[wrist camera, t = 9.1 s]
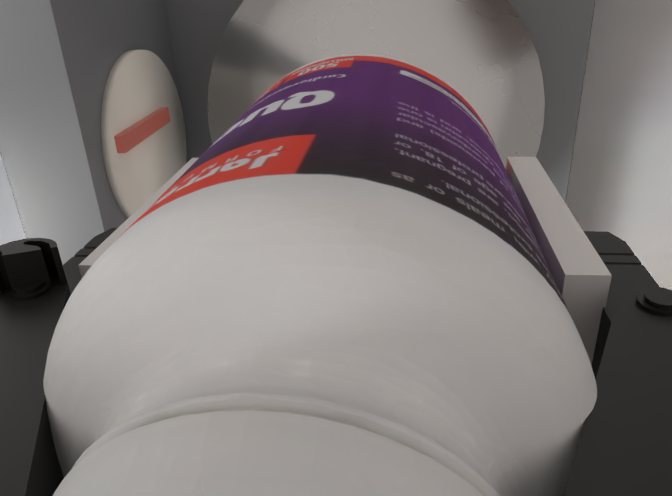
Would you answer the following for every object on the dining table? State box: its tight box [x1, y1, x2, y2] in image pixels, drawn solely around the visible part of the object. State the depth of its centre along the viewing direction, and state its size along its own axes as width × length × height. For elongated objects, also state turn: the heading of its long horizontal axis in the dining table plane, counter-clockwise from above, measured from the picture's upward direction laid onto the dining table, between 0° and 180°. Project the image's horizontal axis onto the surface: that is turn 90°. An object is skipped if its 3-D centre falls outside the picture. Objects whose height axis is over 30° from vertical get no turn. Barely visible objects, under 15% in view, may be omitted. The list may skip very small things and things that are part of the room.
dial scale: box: [0, 0, 595, 265], centre depth 24 cm, size 21×18×12 cm
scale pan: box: [207, 0, 545, 169], centre depth 25 cm, size 14×14×2 cm
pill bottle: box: [43, 53, 597, 496], centre depth 12 cm, size 8×8×14 cm
